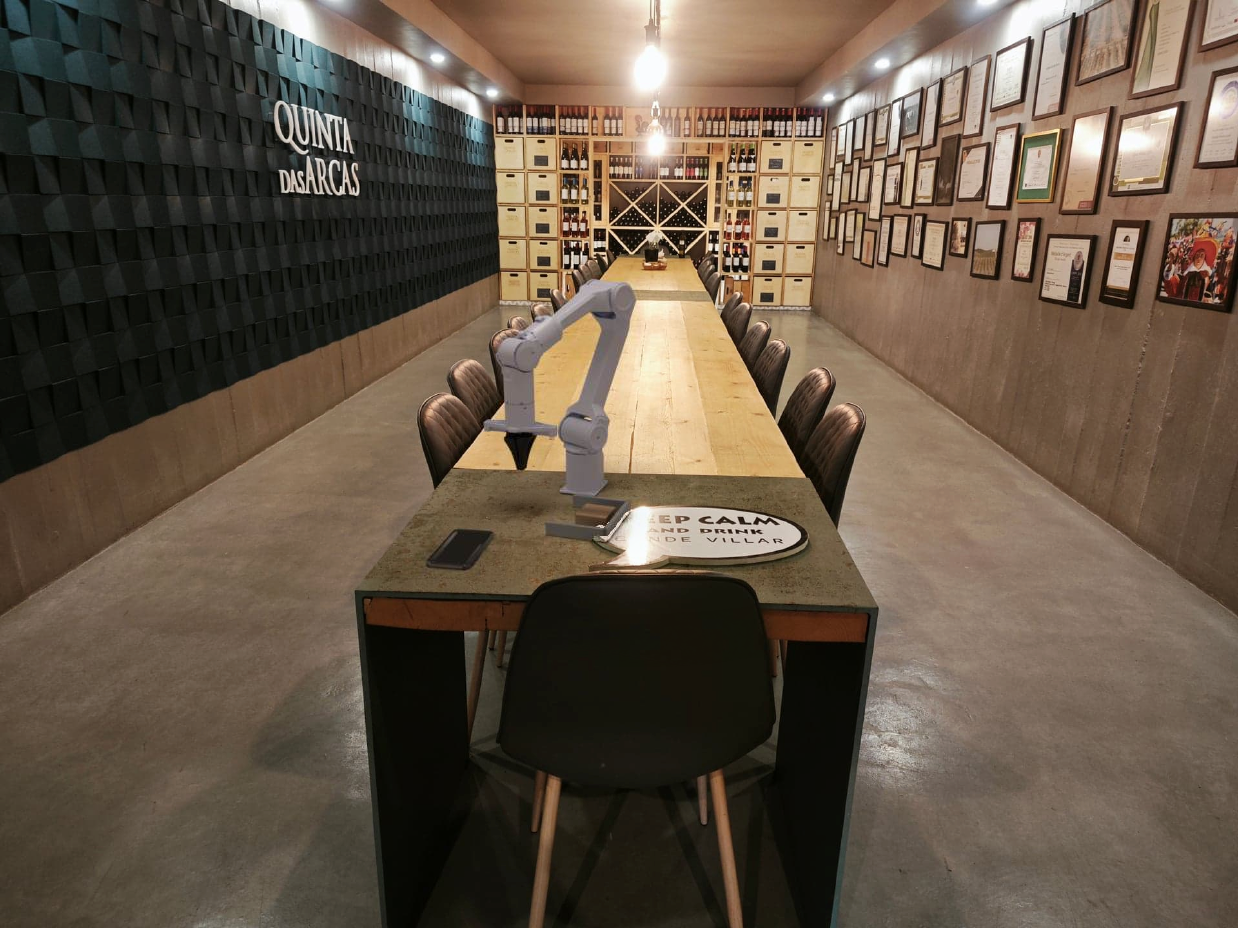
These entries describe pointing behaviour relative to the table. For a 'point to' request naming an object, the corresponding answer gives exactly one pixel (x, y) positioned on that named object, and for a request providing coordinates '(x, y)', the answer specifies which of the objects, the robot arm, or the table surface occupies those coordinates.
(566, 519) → the table surface
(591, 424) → the robot arm
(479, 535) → the phone
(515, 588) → the table surface
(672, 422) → the table surface
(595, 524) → the walnut tile
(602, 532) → the grey u-shaped rail
